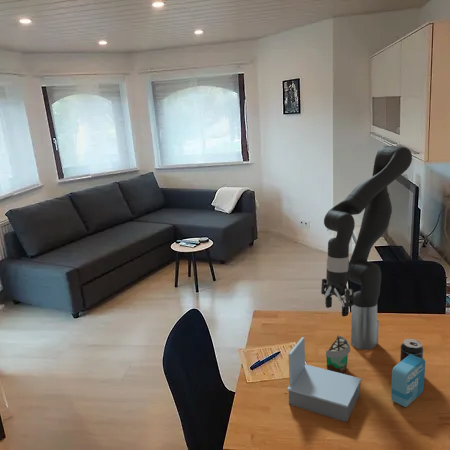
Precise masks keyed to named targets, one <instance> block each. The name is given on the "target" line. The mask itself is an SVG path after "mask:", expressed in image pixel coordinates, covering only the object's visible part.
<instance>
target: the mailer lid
mask: <svg viewBox="0 0 450 450" xmlns="http://www.w3.org/2000/svg"><path fill="white" fill-rule="evenodd" d="M305 342H306V341H305V337H304V336H302V337H301V338H300V339H299V340H298V341H297V343H296V344H295V345H294V347H292V349H291V350H290V351H289V352H288V377H289V378H288V379H289V380H288V381H289V385H288V387H287V388H286V390H287V391H288V392H289V391H292V392H296V393H299V394H302V395H306V396H309V397H313V398H316V399H319V400H323V401H326V402H330V403H333V404H336V405H340V406H343V407H347V408H348V406H349V404H350V402H351V400H352V398H353V396H354V394H355V392H356V389H357V387H358V385H359V383H360V384H361V381H362V378H361V377H357V376H352V375H350V374H346V373H344V374H342V373H338V372H334V371H330V370H327V368H326V369H325V368H323V367H322V368H321V367H318V366H313V365H311V364H310V365H309V364H308V363H307V364H306V355H305V354H306V353H305V352H306V351H305V350H306V349H305Z"/></svg>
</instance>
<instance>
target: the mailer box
mask: <svg viewBox="0 0 450 450" xmlns="http://www.w3.org/2000/svg"><path fill="white" fill-rule="evenodd" d="M360 392H361V382H360V383H359V385H358V387H357V389H356V392H355V394H354V396H353V398H352V400H351V402H350V404H349V406H348V408H347V407H343V406H340V405H336V404H333V403H330V402H326V401H323V400H319V399H316V398H313V397H309V396H306V395H302V394H299V393H296V392H292V391H289V390H288V405H290V406H293V407H296V408H299V409H303V410H306V411H309V412H311V413H315V414H318V415H321V416H325V417H328V418H331V419H334V420H337V421H340V422H344V423H348V421H349V418H350V417H351V414H352V412H353V410H354V408H355V406H356V404H357V402H358V399H359V397H360V395H361V394H360Z"/></svg>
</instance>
